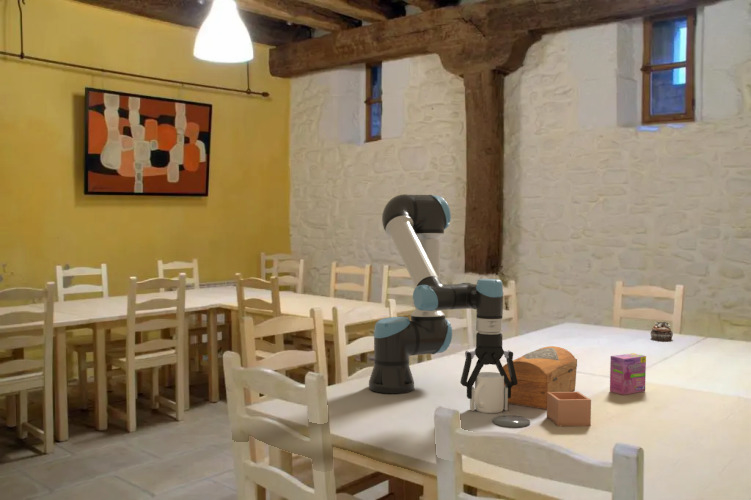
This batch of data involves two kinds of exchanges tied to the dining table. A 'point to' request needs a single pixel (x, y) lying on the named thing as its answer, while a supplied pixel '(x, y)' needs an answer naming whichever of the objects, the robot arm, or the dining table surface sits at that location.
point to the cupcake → (661, 332)
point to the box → (627, 373)
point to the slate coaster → (511, 421)
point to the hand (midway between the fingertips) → (488, 409)
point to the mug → (489, 392)
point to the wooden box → (542, 376)
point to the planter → (569, 408)
